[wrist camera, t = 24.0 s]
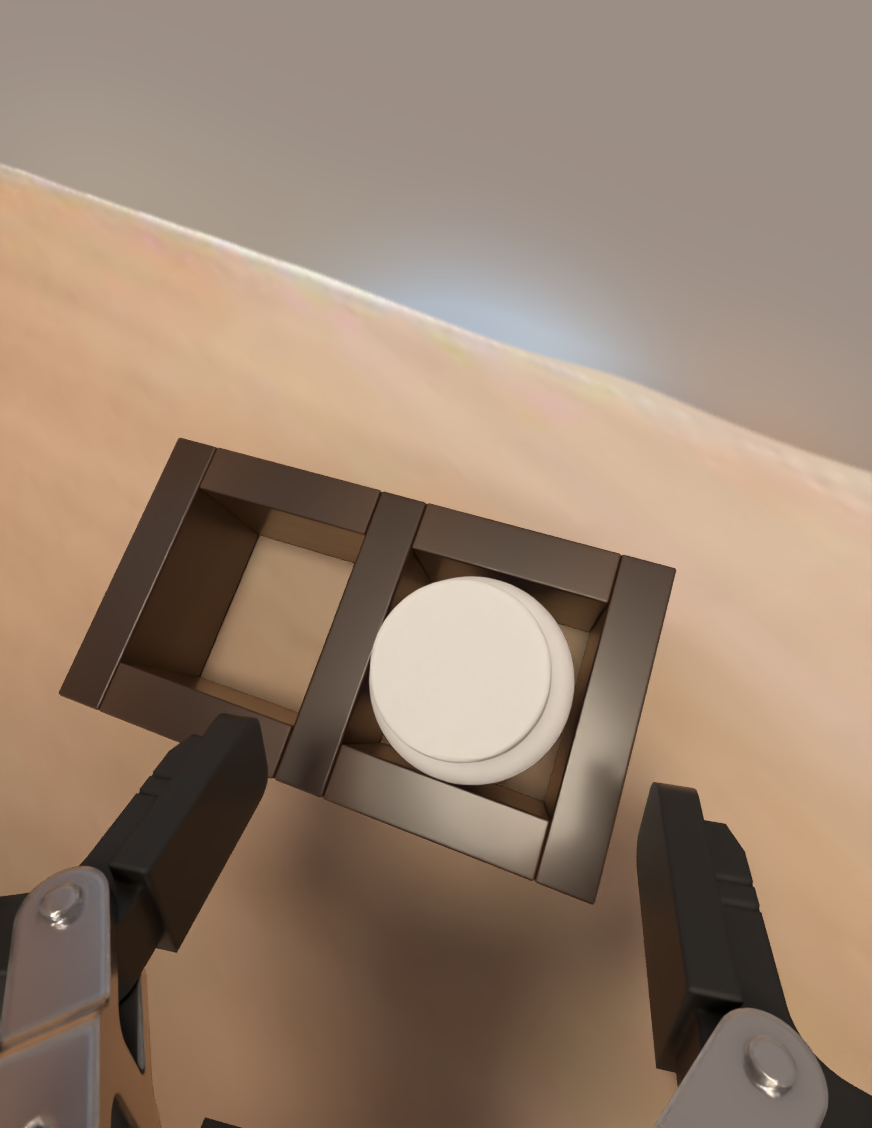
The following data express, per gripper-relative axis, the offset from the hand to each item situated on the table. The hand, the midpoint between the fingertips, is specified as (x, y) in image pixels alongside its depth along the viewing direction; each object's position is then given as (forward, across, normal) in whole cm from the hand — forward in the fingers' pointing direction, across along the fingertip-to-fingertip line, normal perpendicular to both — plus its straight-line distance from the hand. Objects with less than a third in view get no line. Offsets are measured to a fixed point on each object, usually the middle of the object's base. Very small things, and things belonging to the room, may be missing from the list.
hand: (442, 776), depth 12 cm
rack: (+9, +4, +5) cm, 11 cm away
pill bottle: (+9, 0, +5) cm, 10 cm away
